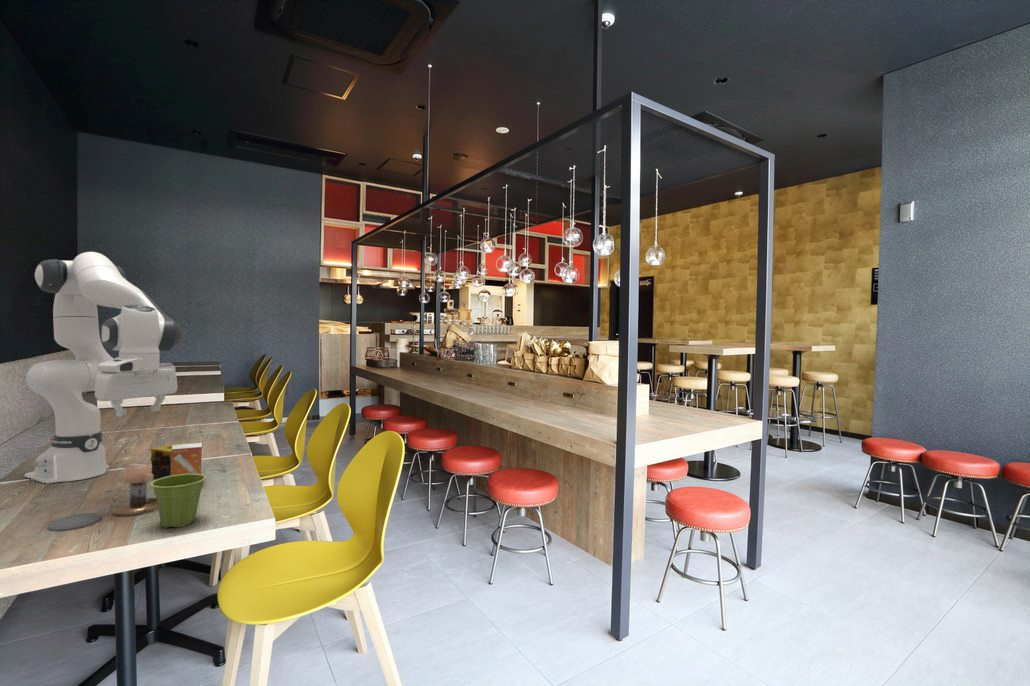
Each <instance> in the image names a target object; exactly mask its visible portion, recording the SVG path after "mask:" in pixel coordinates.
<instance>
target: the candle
mask: <svg viewBox="0 0 1030 686" xmlns="http://www.w3.org/2000/svg"><path fill="white" fill-rule="evenodd" d="M182 444H184V442H183V443H181V442H177V443H172V444H166V445H163V446H159V447H153V448H152V447H151V449H150V463H151V464H152V474H153V478H155V479H154V480H157V479H160V478H163V477H168V476H171V450H172V445H182Z"/></svg>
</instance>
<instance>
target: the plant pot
mask: <svg viewBox="0 0 1030 686" xmlns="http://www.w3.org/2000/svg"><path fill="white" fill-rule="evenodd" d="M206 479H207V475H205V474H202V473H201V474H180V475H173V476H168V477H163V478H160V479H154V480H153V481H152V482H150V487H152V488H153V492H154V495H155V497H156V499H157V504H158V509H157V510H158V515H159V519H160V524H161V527H163V528H166V527H167V528H171V527H173V528H180V527H179V526H181V527H183V526H188V525H190V524H192V522H194V521H196V517H197V511H198V507H199V502H200V499H201V498H200V496H201V492H202V489H203V486H204V483H205V480H206ZM187 524H188V525H187Z"/></svg>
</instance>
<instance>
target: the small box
mask: <svg viewBox="0 0 1030 686" xmlns="http://www.w3.org/2000/svg"><path fill="white" fill-rule="evenodd" d="M171 445H172V444H171ZM202 457H203V443H202V442H196V443H195V442H194V443H183V444H182V445H172V450H171V476H173V475H180V474H202V470H203V469H202V462H203V461H202V460H203V459H202Z"/></svg>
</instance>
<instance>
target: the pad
mask: <svg viewBox="0 0 1030 686" xmlns="http://www.w3.org/2000/svg"><path fill="white" fill-rule="evenodd" d="M101 519H102V515H101V514H100V513H95V512H87V513H86V512H85V513H78V514H72V515H67V516H63V517H60V518H57V519H54V520H52V521H51V522H49V523H48V524H47V530H48V531H53V532H65V531H72V529H73V530H77V528H78V529H81V527H82V528H85V527H84V526H86V527H88V525H89V526H91V524H92V525H94V524H96V523H98V522H100V521H101ZM97 521H98V522H97ZM64 530H65V531H64Z"/></svg>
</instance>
